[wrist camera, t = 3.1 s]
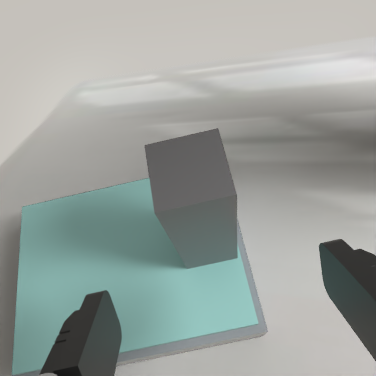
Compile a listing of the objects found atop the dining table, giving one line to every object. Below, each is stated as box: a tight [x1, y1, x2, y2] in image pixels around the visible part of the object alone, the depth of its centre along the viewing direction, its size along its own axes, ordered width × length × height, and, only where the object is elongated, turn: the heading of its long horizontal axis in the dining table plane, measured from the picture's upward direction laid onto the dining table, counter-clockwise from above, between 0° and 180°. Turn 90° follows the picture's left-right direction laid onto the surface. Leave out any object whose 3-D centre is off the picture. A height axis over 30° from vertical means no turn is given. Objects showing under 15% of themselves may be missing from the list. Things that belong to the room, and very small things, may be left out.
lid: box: [12, 128, 259, 375], centre depth 20 cm, size 16×12×11 cm
